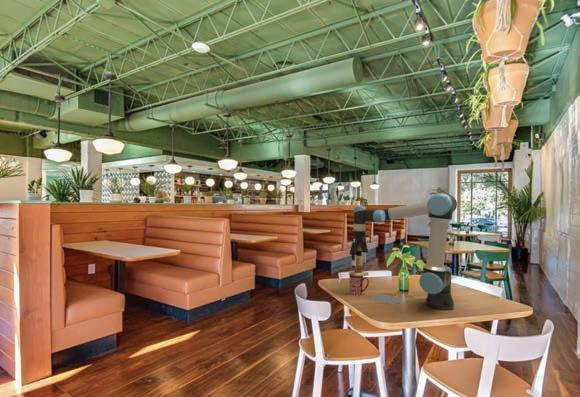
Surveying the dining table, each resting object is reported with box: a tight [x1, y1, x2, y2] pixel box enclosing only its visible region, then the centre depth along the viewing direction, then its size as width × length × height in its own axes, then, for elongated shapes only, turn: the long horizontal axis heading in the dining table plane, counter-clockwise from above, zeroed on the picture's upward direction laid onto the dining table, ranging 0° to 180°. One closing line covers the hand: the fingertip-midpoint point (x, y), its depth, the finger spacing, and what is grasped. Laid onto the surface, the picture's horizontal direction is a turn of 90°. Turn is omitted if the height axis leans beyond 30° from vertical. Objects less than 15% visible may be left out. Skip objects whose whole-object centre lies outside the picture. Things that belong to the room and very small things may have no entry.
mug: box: [348, 273, 370, 297], centre depth 203 cm, size 13×9×14 cm
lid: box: [348, 255, 369, 277], centre depth 204 cm, size 12×12×11 cm
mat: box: [368, 292, 404, 305], centre depth 195 cm, size 16×16×1 cm
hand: (358, 264), depth 204 cm, fingers open, 13 cm apart
